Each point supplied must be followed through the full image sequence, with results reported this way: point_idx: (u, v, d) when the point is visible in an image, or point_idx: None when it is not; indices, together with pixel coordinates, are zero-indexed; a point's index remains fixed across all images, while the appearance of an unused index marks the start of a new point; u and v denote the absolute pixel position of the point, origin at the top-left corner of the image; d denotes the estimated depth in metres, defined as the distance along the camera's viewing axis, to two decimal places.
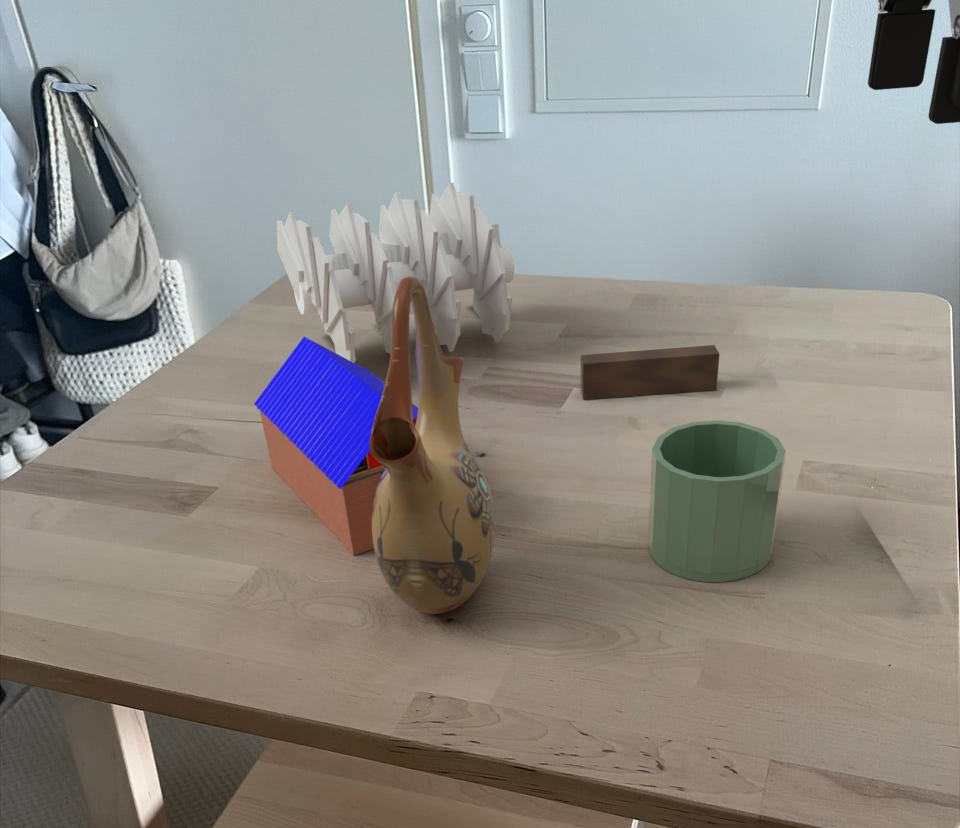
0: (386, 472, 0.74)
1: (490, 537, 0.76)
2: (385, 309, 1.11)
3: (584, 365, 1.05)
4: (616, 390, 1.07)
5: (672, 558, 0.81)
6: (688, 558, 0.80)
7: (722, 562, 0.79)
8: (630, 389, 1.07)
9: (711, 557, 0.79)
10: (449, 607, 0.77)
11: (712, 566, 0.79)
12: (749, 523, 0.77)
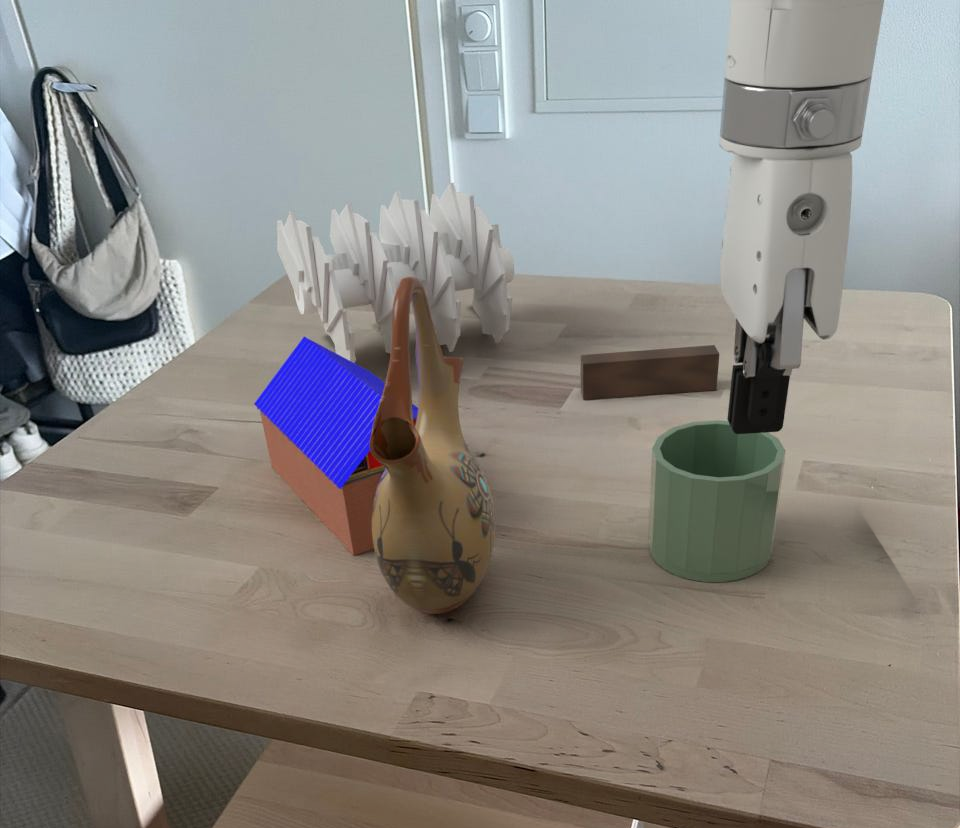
0: (386, 472, 0.74)
1: (490, 537, 0.76)
2: (385, 309, 1.11)
3: (584, 365, 1.05)
4: (616, 390, 1.07)
5: (672, 558, 0.81)
6: (688, 558, 0.80)
7: (722, 562, 0.79)
8: (630, 389, 1.07)
9: (711, 557, 0.79)
10: (449, 607, 0.77)
11: (712, 566, 0.79)
12: (749, 523, 0.77)
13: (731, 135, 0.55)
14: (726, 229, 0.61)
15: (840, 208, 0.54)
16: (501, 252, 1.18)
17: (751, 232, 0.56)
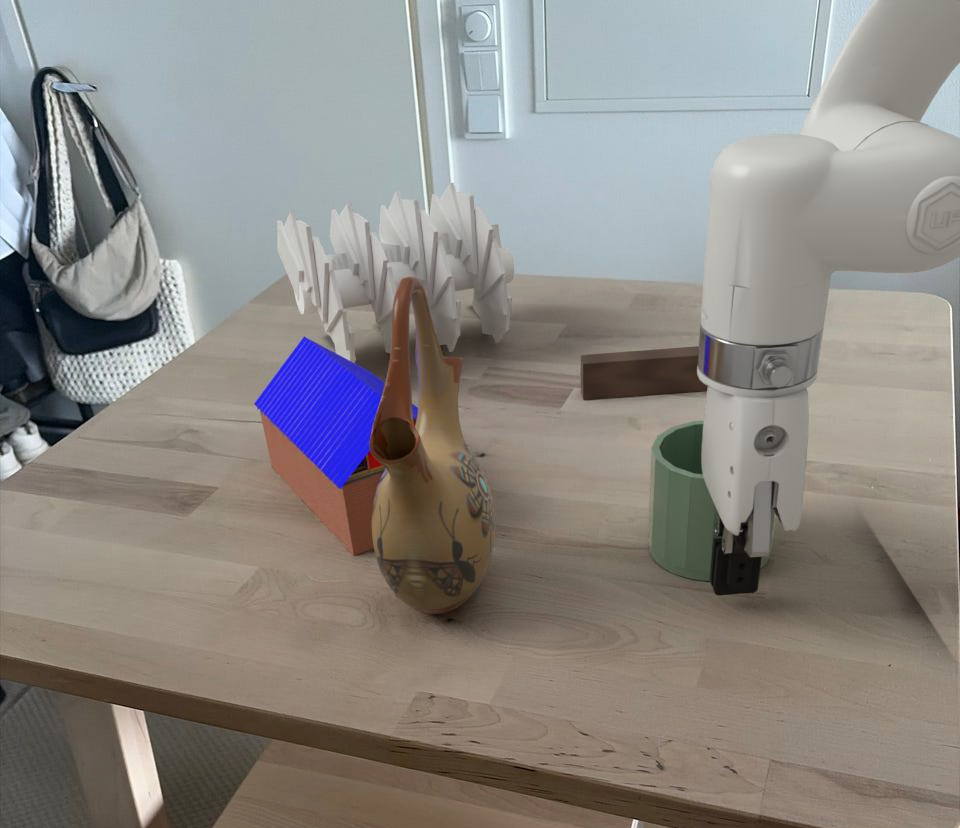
0: (386, 472, 0.74)
1: (490, 537, 0.76)
2: (385, 309, 1.11)
3: (584, 365, 1.05)
4: (616, 390, 1.07)
5: (671, 557, 0.81)
6: (687, 557, 0.80)
7: None
8: (630, 389, 1.07)
9: (710, 556, 0.79)
10: (449, 607, 0.77)
11: None
12: None
13: (706, 372, 0.65)
14: (705, 430, 0.72)
15: (799, 435, 0.64)
16: (501, 252, 1.18)
17: (725, 448, 0.66)
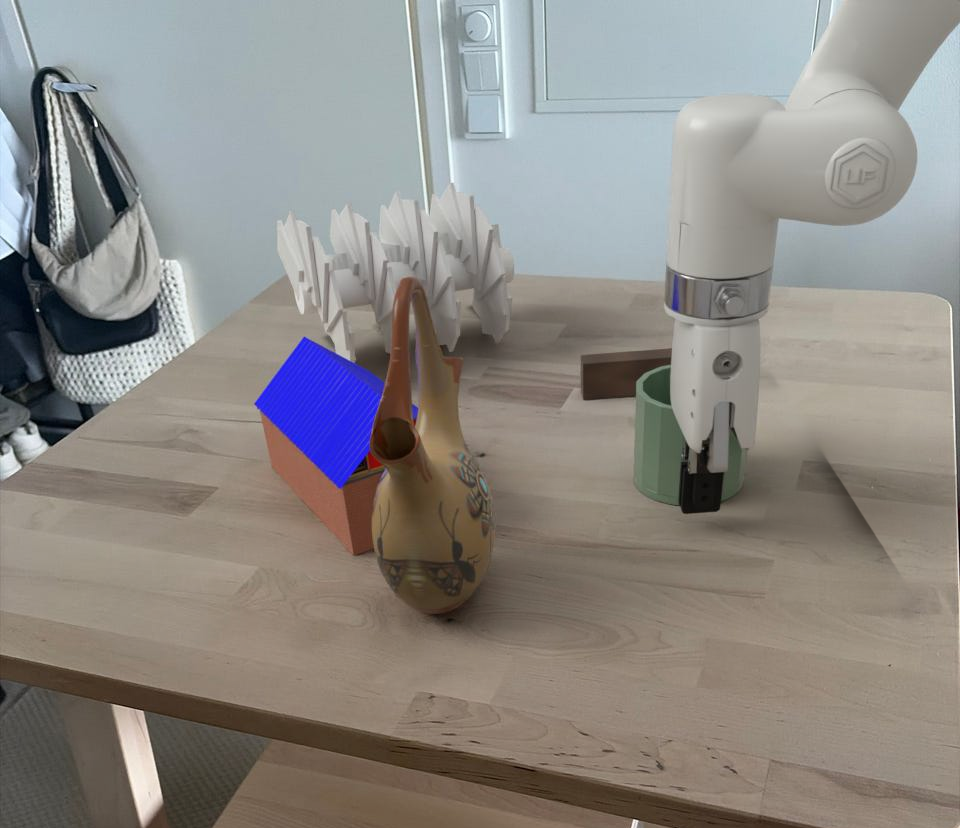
0: (386, 472, 0.74)
1: (490, 537, 0.76)
2: (385, 309, 1.11)
3: (584, 365, 1.05)
4: (616, 390, 1.07)
5: (647, 482, 0.90)
6: (659, 482, 0.89)
7: None
8: (630, 389, 1.07)
9: None
10: (449, 607, 0.77)
11: None
12: None
13: (671, 305, 0.74)
14: (672, 362, 0.81)
15: (752, 360, 0.73)
16: (501, 252, 1.18)
17: (688, 374, 0.75)
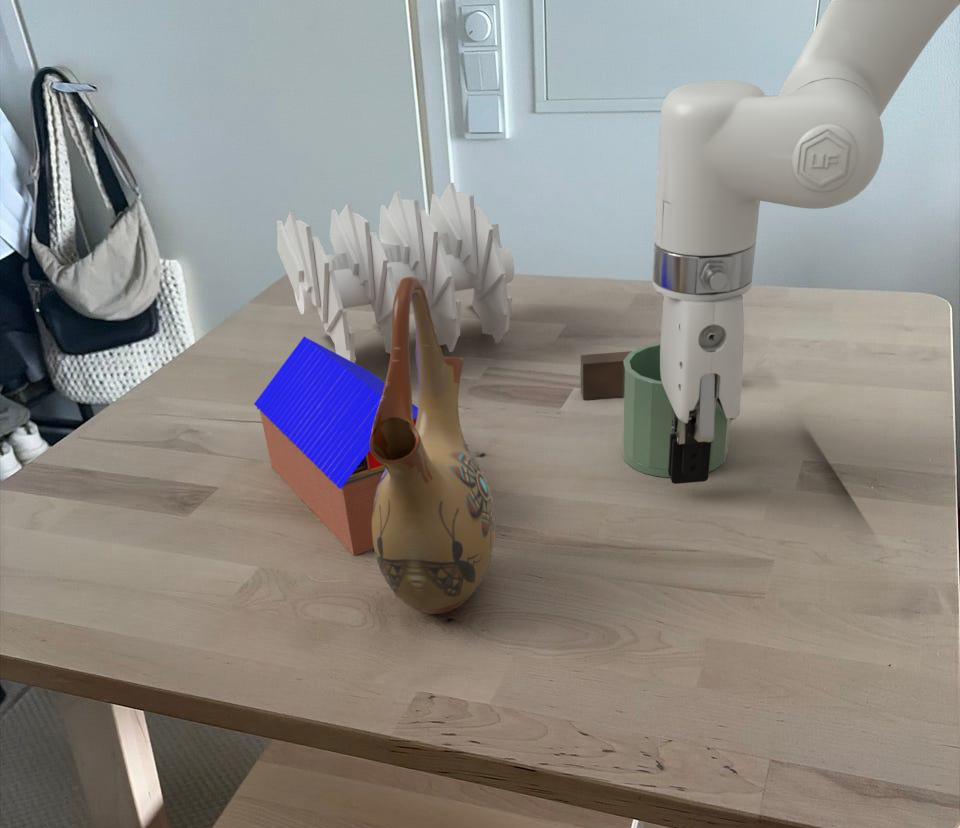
0: (386, 472, 0.74)
1: (490, 537, 0.76)
2: (385, 309, 1.11)
3: (584, 365, 1.05)
4: (616, 390, 1.07)
5: (638, 456, 0.94)
6: (651, 456, 0.93)
7: None
8: None
9: None
10: (449, 607, 0.77)
11: None
12: None
13: (659, 282, 0.78)
14: (662, 338, 0.85)
15: (736, 333, 0.77)
16: (501, 252, 1.18)
17: (676, 347, 0.80)
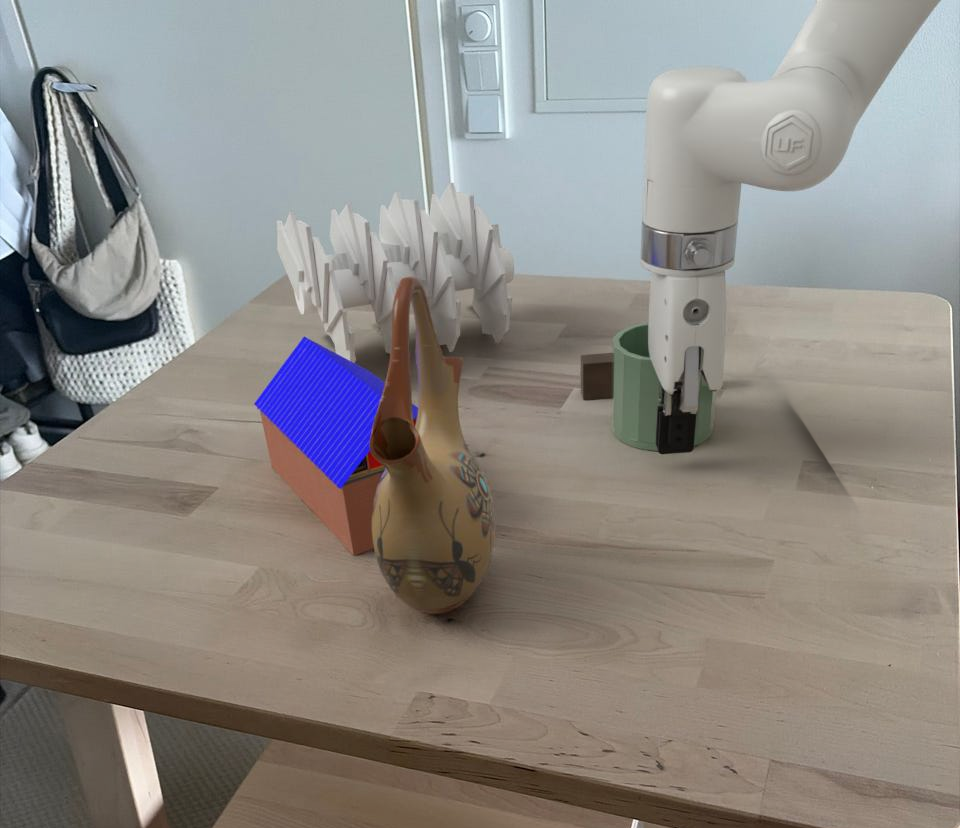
0: (386, 472, 0.74)
1: (490, 537, 0.76)
2: (385, 309, 1.11)
3: (584, 365, 1.05)
4: None
5: (627, 431, 0.98)
6: (639, 430, 0.97)
7: None
8: None
9: None
10: (449, 607, 0.77)
11: None
12: None
13: (646, 258, 0.82)
14: (649, 314, 0.89)
15: (718, 308, 0.81)
16: (501, 252, 1.18)
17: (662, 321, 0.84)
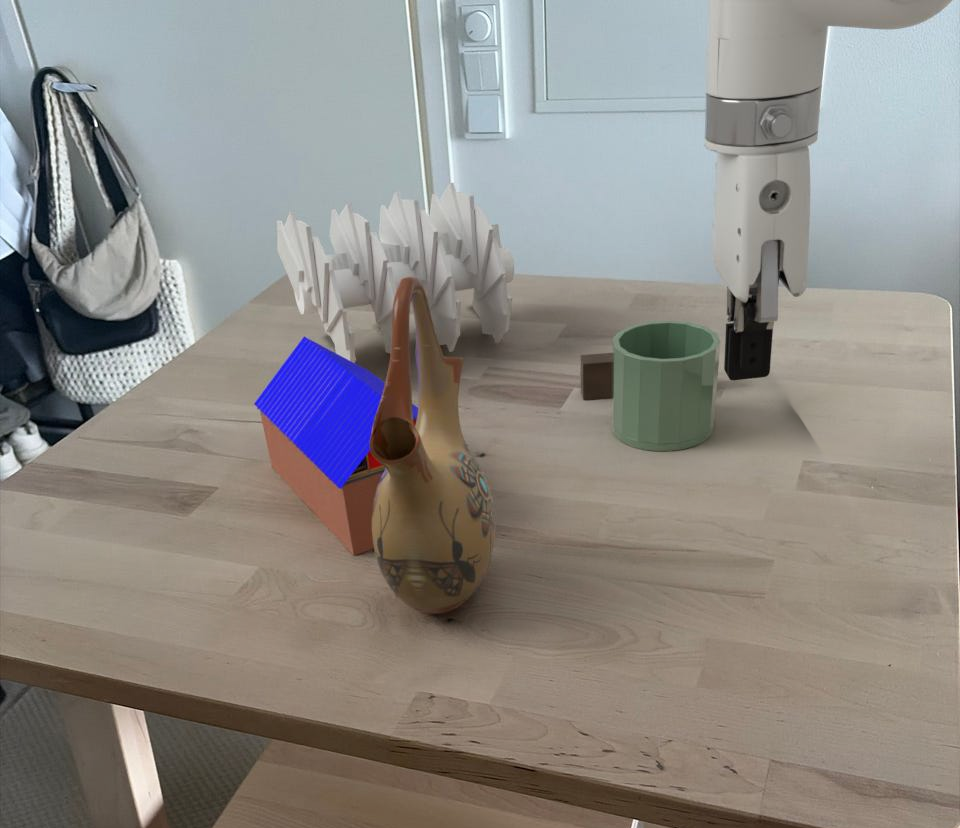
0: (386, 472, 0.74)
1: (490, 537, 0.76)
2: (385, 309, 1.11)
3: (584, 365, 1.05)
4: None
5: (627, 431, 0.98)
6: (639, 430, 0.97)
7: (667, 433, 0.97)
8: None
9: (658, 428, 0.96)
10: (449, 607, 0.77)
11: (659, 436, 0.97)
12: (689, 399, 0.95)
13: (713, 137, 0.69)
14: (715, 212, 0.76)
15: (801, 190, 0.68)
16: (501, 252, 1.18)
17: (732, 213, 0.71)
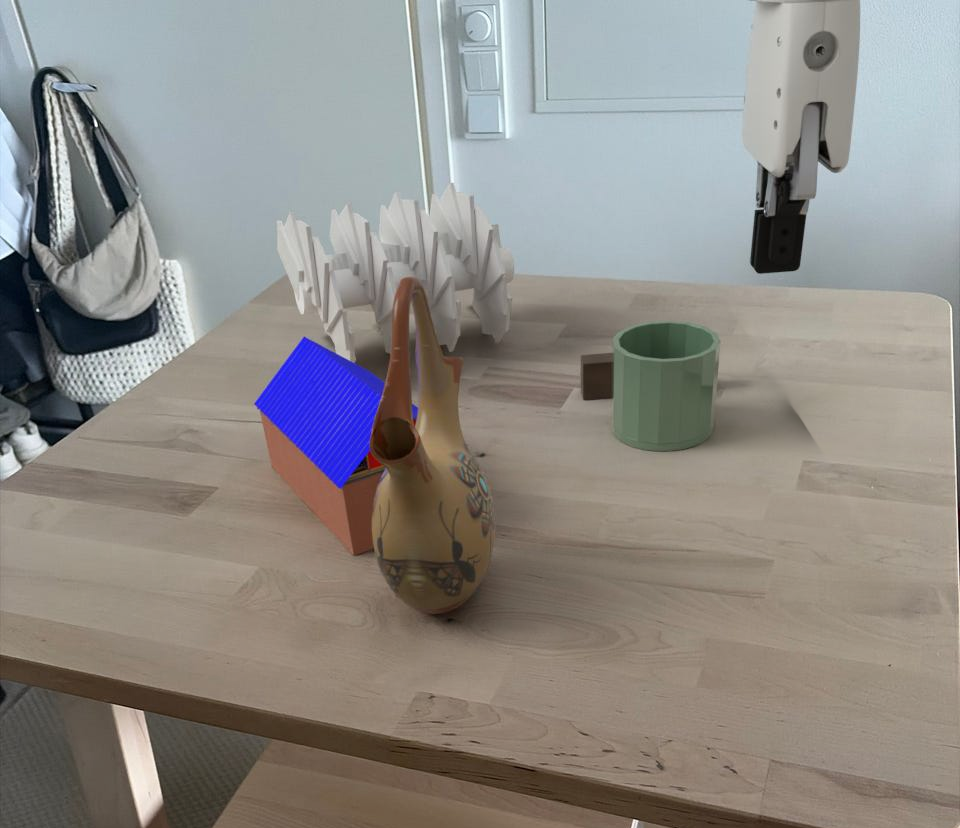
0: (386, 472, 0.74)
1: (490, 537, 0.76)
2: (385, 309, 1.11)
3: (584, 365, 1.05)
4: None
5: (627, 431, 0.98)
6: (639, 430, 0.97)
7: (667, 433, 0.97)
8: None
9: (658, 428, 0.96)
10: (449, 607, 0.77)
11: (659, 436, 0.97)
12: (689, 399, 0.95)
13: None
14: (748, 82, 0.69)
15: (850, 45, 0.62)
16: (501, 252, 1.18)
17: (772, 73, 0.64)
